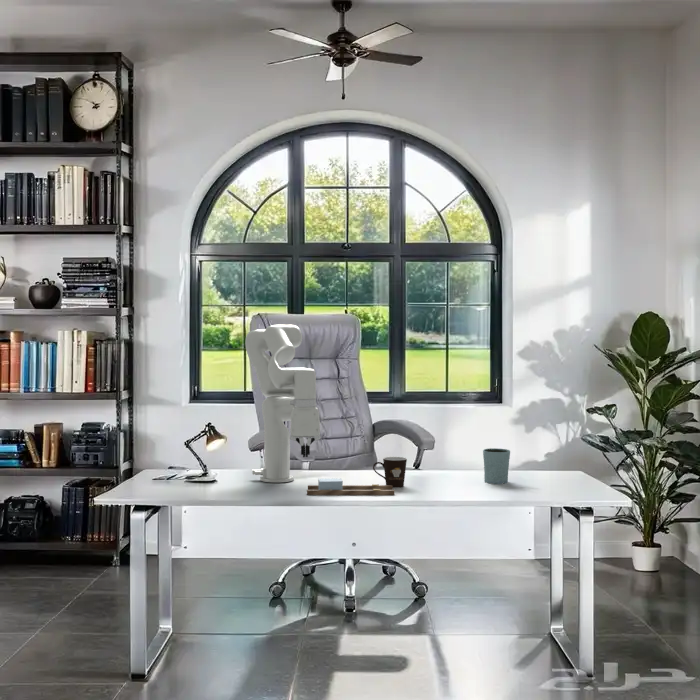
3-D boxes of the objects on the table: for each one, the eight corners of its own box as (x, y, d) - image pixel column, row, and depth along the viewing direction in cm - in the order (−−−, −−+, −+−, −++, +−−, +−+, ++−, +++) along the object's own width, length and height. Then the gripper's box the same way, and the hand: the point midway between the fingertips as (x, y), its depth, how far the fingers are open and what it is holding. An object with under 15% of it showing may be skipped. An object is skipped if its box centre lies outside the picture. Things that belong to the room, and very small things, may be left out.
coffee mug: (409, 484, 331) (409, 457, 331) (403, 488, 323) (403, 460, 323) (379, 482, 335) (379, 455, 335) (371, 486, 327) (372, 459, 326)
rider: (319, 494, 312) (319, 481, 312) (318, 491, 318) (318, 478, 318) (342, 494, 313) (342, 481, 313) (340, 491, 319) (341, 478, 319)
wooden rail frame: (306, 494, 310) (307, 489, 310) (307, 489, 321) (307, 484, 321) (394, 495, 311) (394, 489, 311) (392, 489, 321) (392, 484, 321)
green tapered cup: (500, 479, 344) (500, 447, 344) (515, 483, 335) (515, 451, 335) (477, 480, 340) (477, 449, 340) (492, 485, 331) (492, 452, 331)
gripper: (283, 404, 310) (283, 458, 310) (326, 404, 311) (326, 458, 311) (284, 403, 318) (284, 455, 318) (326, 403, 318) (327, 455, 318)
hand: (305, 456), depth 314 cm, fingers closed
